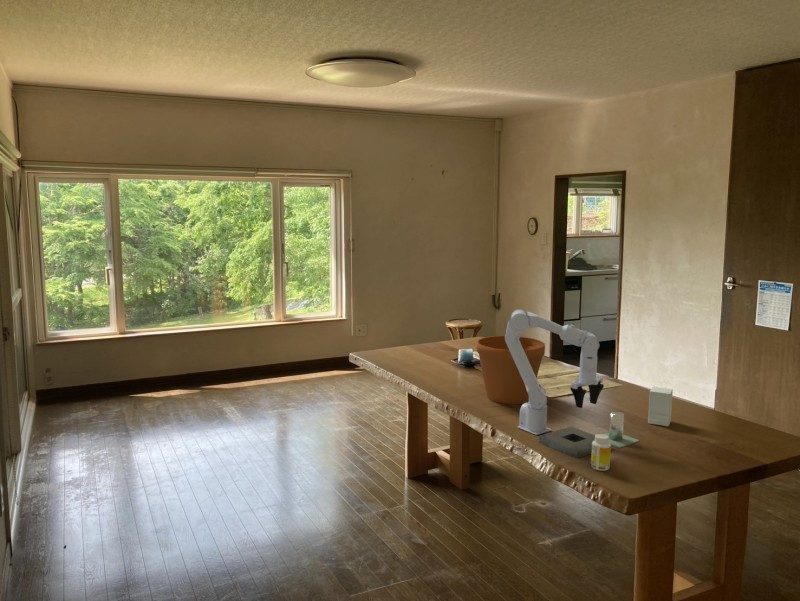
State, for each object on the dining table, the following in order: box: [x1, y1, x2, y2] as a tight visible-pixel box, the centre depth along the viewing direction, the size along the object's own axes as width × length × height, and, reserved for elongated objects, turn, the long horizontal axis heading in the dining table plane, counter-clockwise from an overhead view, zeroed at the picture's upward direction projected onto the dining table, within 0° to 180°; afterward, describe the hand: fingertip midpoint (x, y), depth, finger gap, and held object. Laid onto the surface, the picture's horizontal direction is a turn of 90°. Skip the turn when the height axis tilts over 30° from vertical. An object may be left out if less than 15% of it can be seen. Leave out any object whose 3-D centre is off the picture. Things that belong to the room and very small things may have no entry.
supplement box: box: [647, 386, 674, 427], centre depth 233 cm, size 7×7×13 cm
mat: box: [603, 431, 640, 449], centre depth 216 cm, size 11×11×1 cm
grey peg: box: [608, 411, 625, 441], centre depth 215 cm, size 4×4×9 cm
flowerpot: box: [476, 335, 546, 405], centre depth 262 cm, size 28×28×24 cm
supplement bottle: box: [590, 433, 612, 472], centre depth 192 cm, size 6×6×10 cm
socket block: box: [538, 426, 609, 459], centre depth 211 cm, size 16×16×2 cm
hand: (586, 405), depth 220 cm, fingers open, 7 cm apart
